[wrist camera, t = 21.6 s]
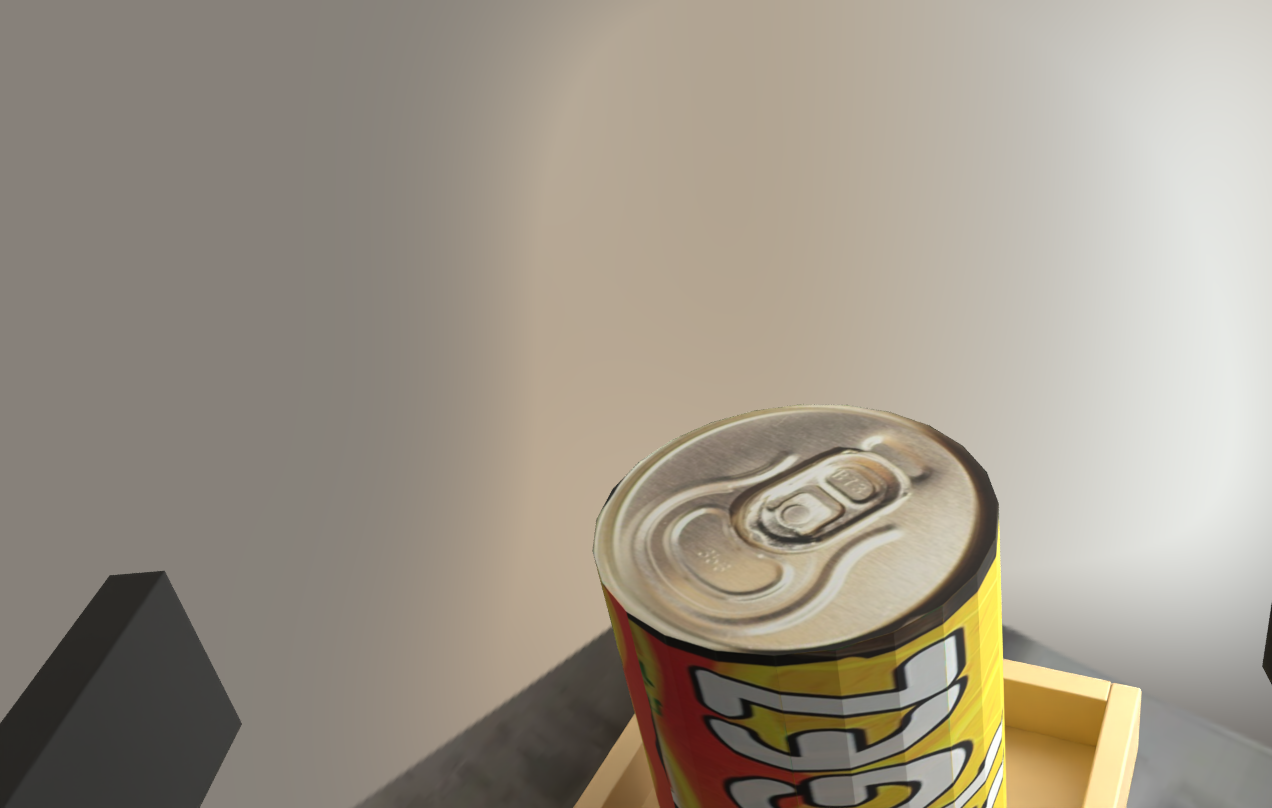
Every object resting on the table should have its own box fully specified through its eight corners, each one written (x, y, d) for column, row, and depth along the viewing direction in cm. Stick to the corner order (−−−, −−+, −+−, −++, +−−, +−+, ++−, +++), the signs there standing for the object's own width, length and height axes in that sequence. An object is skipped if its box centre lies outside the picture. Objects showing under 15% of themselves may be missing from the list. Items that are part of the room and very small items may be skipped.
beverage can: (617, 847, 33) (521, 522, 27) (843, 685, 37) (803, 367, 31) (831, 1092, 26) (765, 731, 20) (1082, 863, 30) (1090, 499, 24)
